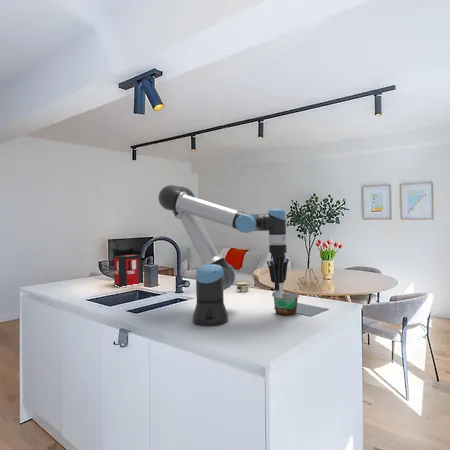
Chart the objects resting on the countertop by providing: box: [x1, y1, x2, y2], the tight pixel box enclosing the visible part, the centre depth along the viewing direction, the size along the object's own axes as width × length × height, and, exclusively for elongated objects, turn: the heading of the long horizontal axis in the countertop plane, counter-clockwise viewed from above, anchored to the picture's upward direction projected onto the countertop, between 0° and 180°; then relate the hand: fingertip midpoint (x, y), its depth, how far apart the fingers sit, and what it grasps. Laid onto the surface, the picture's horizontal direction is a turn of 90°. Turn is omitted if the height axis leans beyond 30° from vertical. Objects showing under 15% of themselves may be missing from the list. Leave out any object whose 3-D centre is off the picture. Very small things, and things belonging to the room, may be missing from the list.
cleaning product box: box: [113, 253, 144, 287], centre depth 236 cm, size 16×9×20 cm, turn 130°
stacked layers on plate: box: [235, 281, 249, 294], centre depth 210 cm, size 10×9×6 cm
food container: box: [271, 290, 300, 317], centre depth 159 cm, size 12×6×10 cm, turn 73°
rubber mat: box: [273, 302, 330, 317], centre depth 168 cm, size 16×20×1 cm
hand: (278, 297), depth 155 cm, fingers closed
